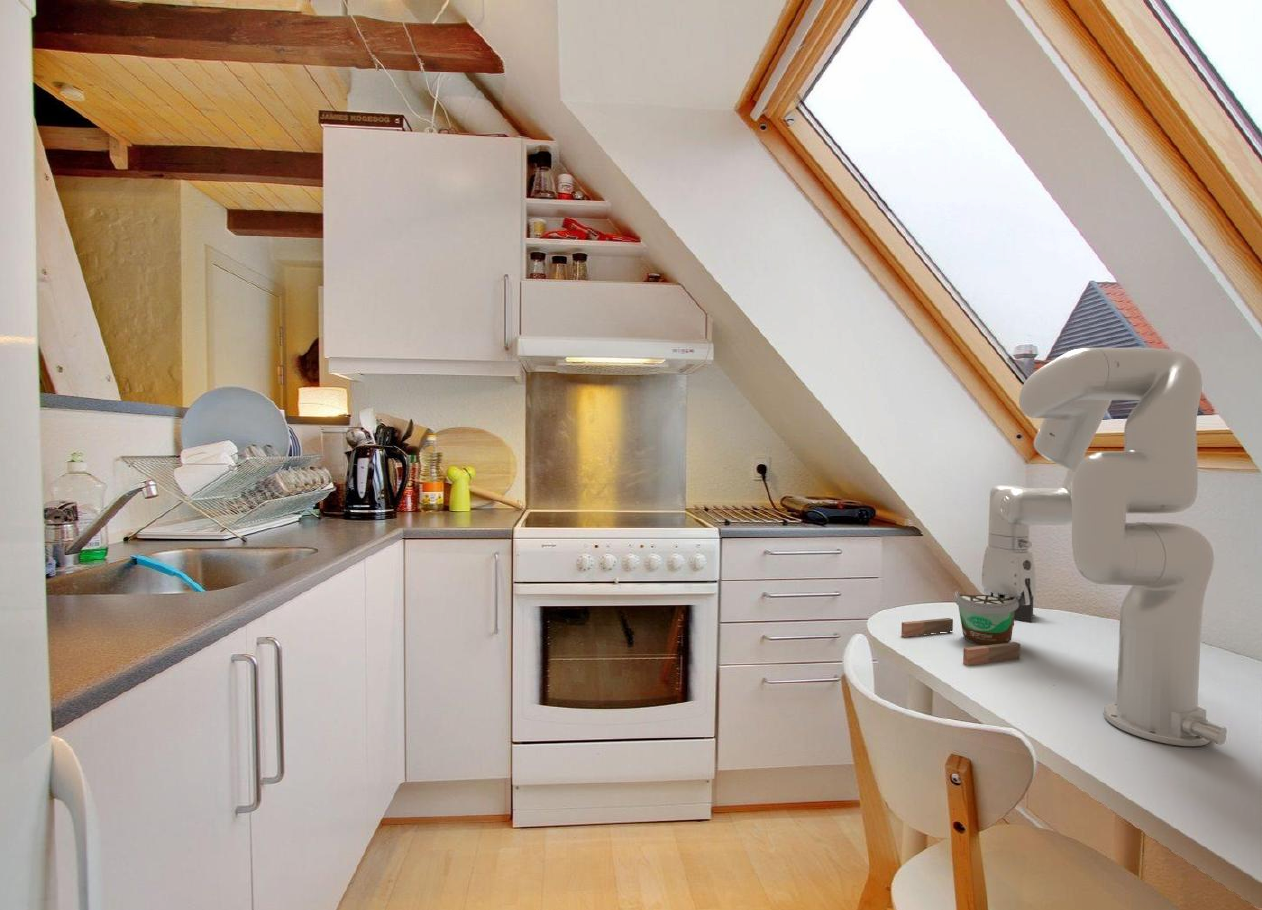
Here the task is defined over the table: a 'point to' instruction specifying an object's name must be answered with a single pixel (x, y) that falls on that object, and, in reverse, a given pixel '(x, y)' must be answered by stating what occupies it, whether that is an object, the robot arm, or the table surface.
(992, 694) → the table surface
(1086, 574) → the robot arm
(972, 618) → the food container
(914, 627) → the lane walls
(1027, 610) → the phone stand
